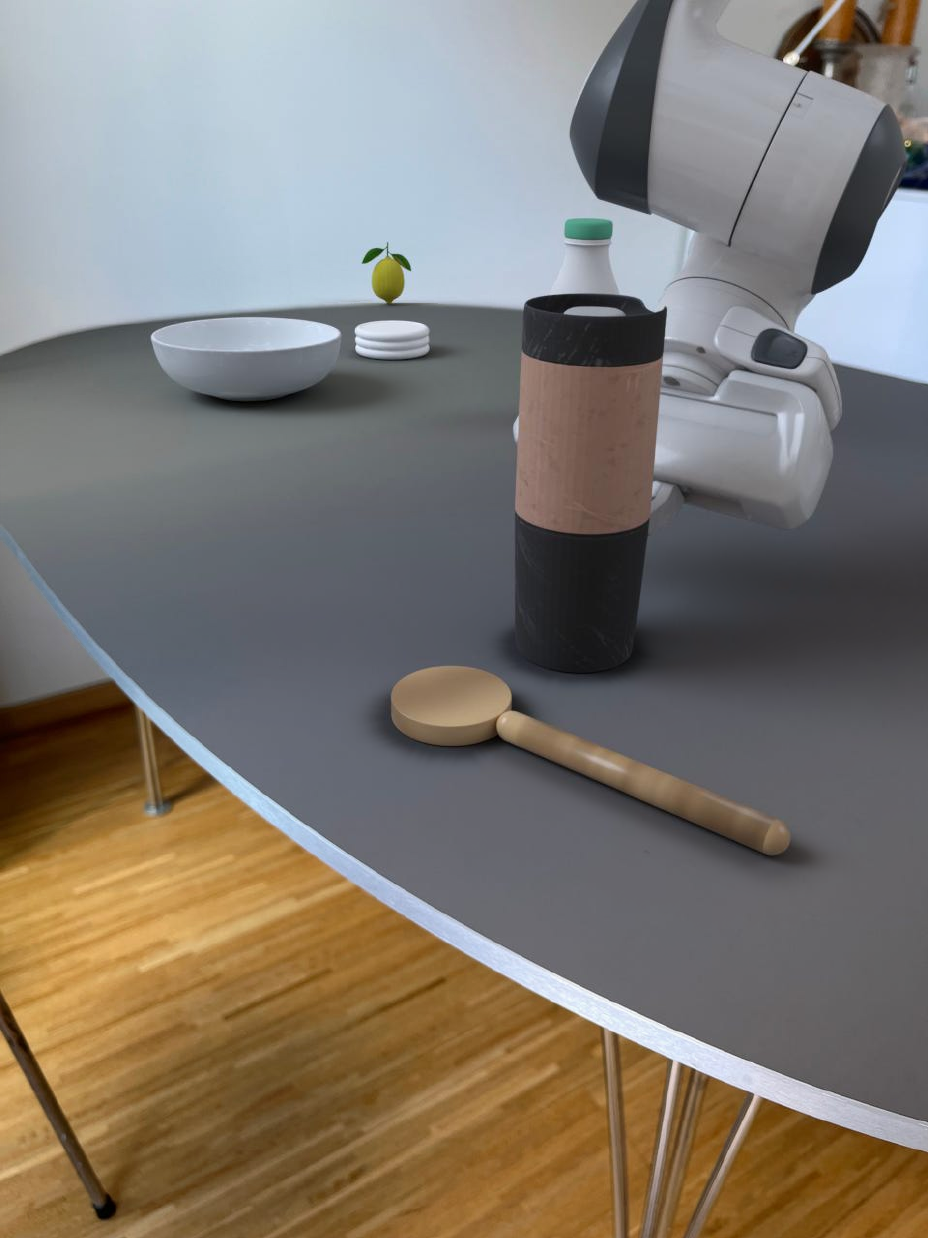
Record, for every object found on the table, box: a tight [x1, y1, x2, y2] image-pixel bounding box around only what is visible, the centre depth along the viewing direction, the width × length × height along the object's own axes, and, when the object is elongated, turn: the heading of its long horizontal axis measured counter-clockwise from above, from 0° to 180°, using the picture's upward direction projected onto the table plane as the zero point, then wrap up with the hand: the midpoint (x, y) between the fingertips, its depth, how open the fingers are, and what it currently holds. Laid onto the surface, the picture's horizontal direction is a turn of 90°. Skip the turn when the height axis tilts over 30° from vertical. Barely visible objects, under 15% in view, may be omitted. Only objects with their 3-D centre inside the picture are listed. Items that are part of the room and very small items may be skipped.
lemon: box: [361, 241, 412, 305], centre depth 173 cm, size 7×6×10 cm
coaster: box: [354, 320, 430, 361], centre depth 139 cm, size 10×10×4 cm
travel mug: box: [514, 293, 667, 674], centre depth 58 cm, size 8×8×20 cm
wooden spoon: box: [390, 665, 792, 856], centre depth 50 cm, size 22×6×2 cm, turn 51°
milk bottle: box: [548, 217, 620, 295], centre depth 103 cm, size 8×8×20 cm
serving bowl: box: [150, 316, 343, 402], centre depth 117 cm, size 21×21×7 cm
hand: (610, 548), depth 63 cm, fingers closed, pressing on travel mug
